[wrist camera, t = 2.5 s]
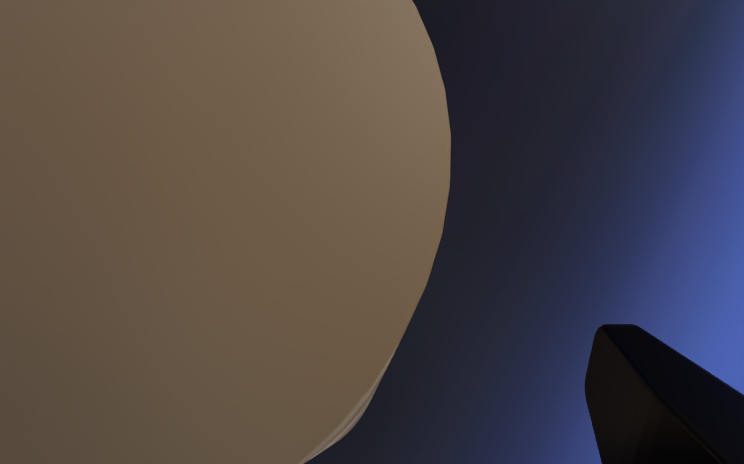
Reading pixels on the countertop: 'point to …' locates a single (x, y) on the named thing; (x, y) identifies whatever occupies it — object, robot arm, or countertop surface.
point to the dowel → (209, 222)
